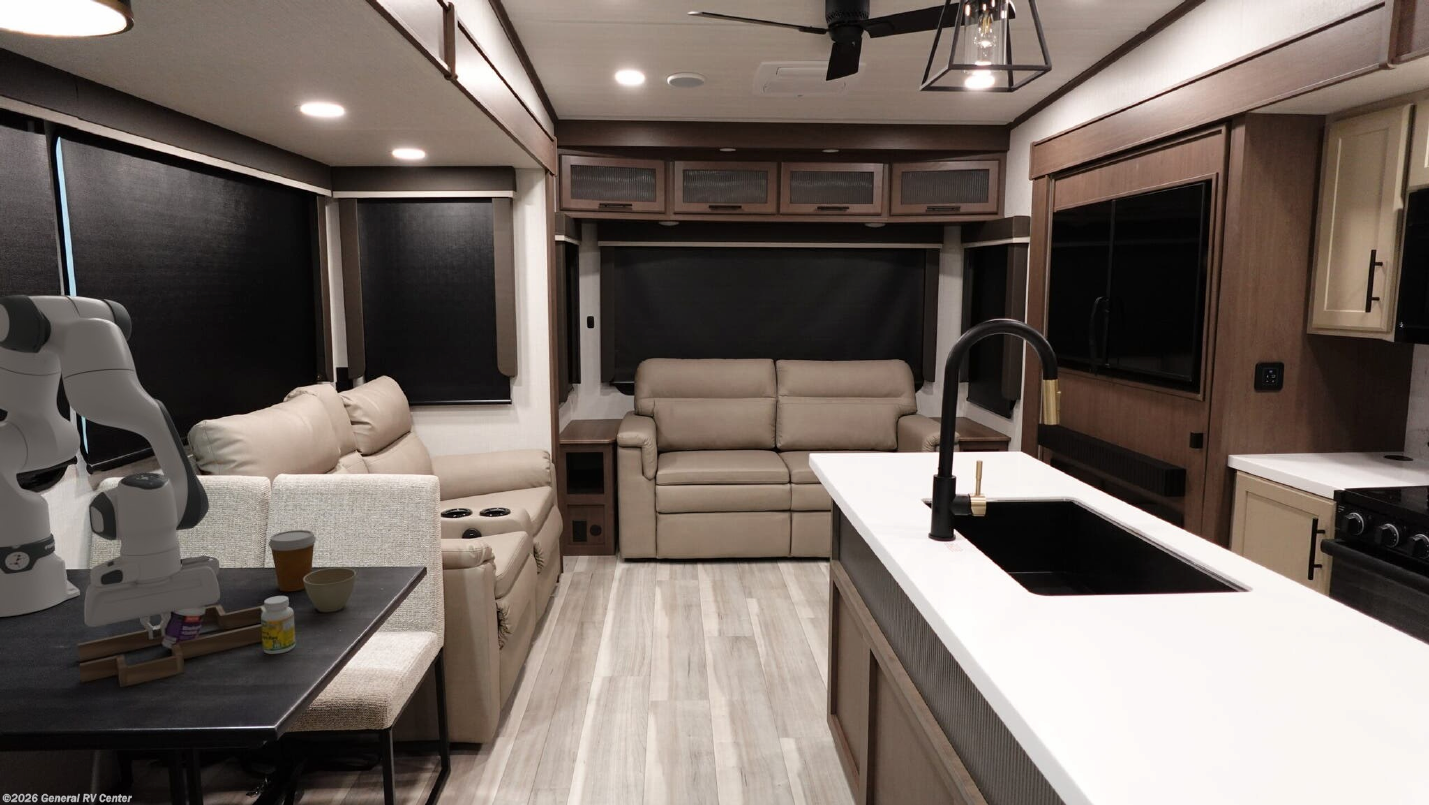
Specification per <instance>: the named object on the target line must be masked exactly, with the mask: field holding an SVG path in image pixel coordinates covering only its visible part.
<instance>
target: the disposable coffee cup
mask: <svg viewBox="0 0 1429 805" xmlns="http://www.w3.org/2000/svg"><path fill="white" fill-rule="evenodd" d="M316 540H317V537H316V536H315V534H314V532H313V531H312V530H307V529H293V530H285V531H281V532H278V533H274V534H273V535H271V536H270V539H269V542H268V543H267V544H268V547H269V548H270V549H271V555H272V559H273V564H274V569H275V575H276V578H277V584H278V589H279V590H280V591H282V592H297V591H301V590H304V589H305V586H304V581H303V578H304V577H305V576H306V575H308V574H309V573H312V572H313V571H312V570H313V560H314V559H313V558H314V550H315V549H314V548H315V544H316ZM305 590H306V589H305Z"/></svg>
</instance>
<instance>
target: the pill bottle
mask: <svg viewBox="0 0 1429 805" xmlns="http://www.w3.org/2000/svg"><path fill="white" fill-rule="evenodd" d="M193 599H195V598H193ZM205 607H206V606H205V605H204V606H199V607H194V608H188V609H182V610H178V611H173V612H171V618H170V620H169V622H168V623H167V627H166V631H165V636H164V637H163V641H162V644H161V645H162V646H163V647H165V648H167V649H170V650H172V645H171V644H173V643H177V642H182V641H187V640H191V639H196V638H199V636H200V635H199V631H200V628H201V624H202V621H203V618H204V614H205Z"/></svg>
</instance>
